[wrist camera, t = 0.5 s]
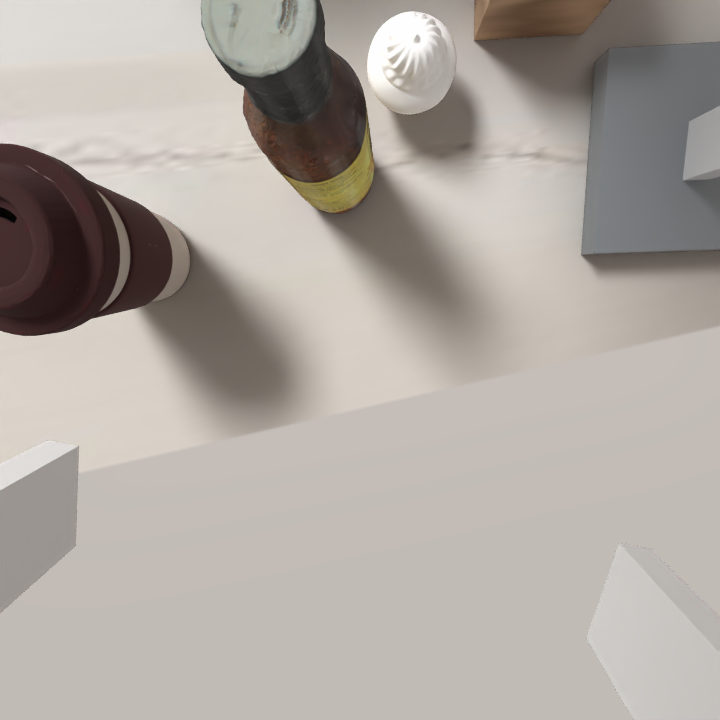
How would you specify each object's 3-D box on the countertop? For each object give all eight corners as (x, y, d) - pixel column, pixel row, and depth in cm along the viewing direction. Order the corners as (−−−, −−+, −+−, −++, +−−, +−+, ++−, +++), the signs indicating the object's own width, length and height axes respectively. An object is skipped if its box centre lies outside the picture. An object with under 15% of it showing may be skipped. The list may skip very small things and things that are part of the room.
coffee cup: (149, 338, 36) (-8, 378, 21) (70, 248, 35) (-155, 224, 20) (231, 267, 35) (123, 257, 20) (152, 170, 33) (-27, 82, 19)
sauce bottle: (390, 171, 33) (409, 6, 13) (339, 232, 34) (287, 165, 14) (328, 113, 32) (251, -150, 12) (278, 177, 33) (136, 27, 14)
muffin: (464, 92, 31) (488, 39, 24) (402, 148, 32) (408, 113, 25) (413, 24, 31) (424, -51, 24) (351, 83, 31) (344, 28, 25)
